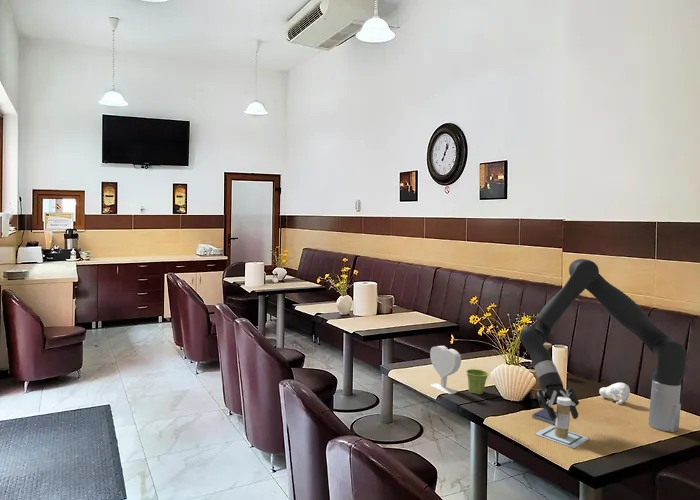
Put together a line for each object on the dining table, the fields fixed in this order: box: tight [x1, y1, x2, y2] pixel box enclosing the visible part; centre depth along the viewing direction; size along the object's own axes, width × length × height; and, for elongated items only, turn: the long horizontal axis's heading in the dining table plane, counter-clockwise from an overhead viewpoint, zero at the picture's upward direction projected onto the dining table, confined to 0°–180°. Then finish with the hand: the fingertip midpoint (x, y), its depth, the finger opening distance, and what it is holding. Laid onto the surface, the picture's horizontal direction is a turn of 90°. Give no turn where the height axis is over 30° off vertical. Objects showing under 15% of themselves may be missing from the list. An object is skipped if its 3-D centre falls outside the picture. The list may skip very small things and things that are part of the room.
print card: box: [534, 424, 590, 450], centre depth 185 cm, size 14×12×1 cm
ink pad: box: [531, 408, 557, 426], centre depth 202 cm, size 9×10×2 cm
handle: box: [543, 341, 552, 351], centre depth 258 cm, size 5×6×15 cm
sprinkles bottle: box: [554, 397, 571, 438], centre depth 185 cm, size 5×5×13 cm
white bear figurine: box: [599, 382, 631, 405], centre depth 224 cm, size 6×8×12 cm
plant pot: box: [465, 368, 489, 395], centre depth 228 cm, size 9×9×9 cm
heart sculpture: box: [429, 345, 462, 395], centre depth 230 cm, size 16×5×18 cm, turn 34°
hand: (565, 418), depth 184 cm, fingers open, 8 cm apart
